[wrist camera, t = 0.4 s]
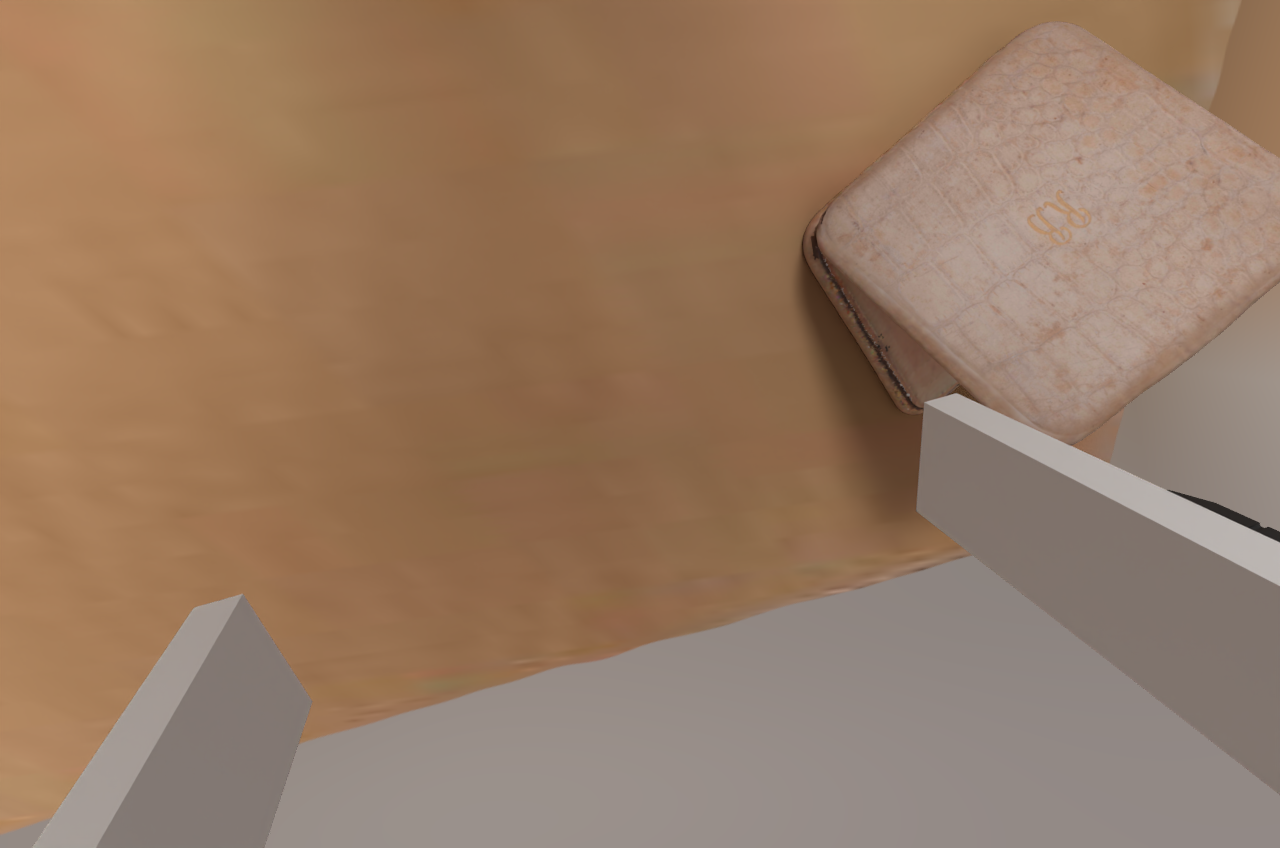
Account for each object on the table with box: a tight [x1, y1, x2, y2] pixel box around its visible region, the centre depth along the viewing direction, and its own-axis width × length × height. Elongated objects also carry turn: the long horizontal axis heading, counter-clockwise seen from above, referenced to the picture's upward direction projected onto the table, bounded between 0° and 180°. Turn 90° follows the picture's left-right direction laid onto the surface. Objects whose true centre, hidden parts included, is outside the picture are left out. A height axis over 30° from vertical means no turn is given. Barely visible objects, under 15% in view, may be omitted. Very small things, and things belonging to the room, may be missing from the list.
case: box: [803, 22, 1280, 446], centre depth 35 cm, size 20×21×16 cm
